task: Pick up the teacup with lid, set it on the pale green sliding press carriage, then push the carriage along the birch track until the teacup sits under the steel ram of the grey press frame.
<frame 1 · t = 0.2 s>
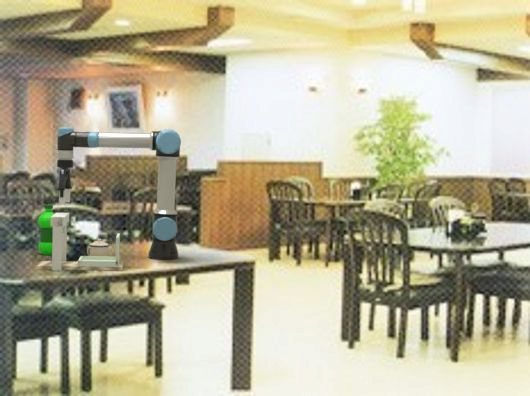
hand: (64, 203, 455), 27 cm above the table, tool pointing down, fingers open, 13 cm apart
plastic bottle: (47, 254, 476), on the table
press track: (81, 267, 434), on the table
press carriage: (99, 249, 435), point 8 cm above the table, slide at 0.0 cm
teacup with lid: (96, 263, 451), on the table
press frame: (59, 266, 433), on the table
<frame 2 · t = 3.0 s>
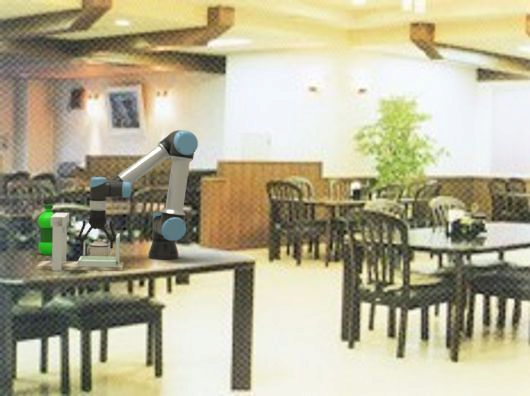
hand: (96, 255, 451), 4 cm above the table, tool pointing down, fingers open, 11 cm apart
teacup with lid: (96, 263, 451), on the table, touching gripper
everything else where it was.
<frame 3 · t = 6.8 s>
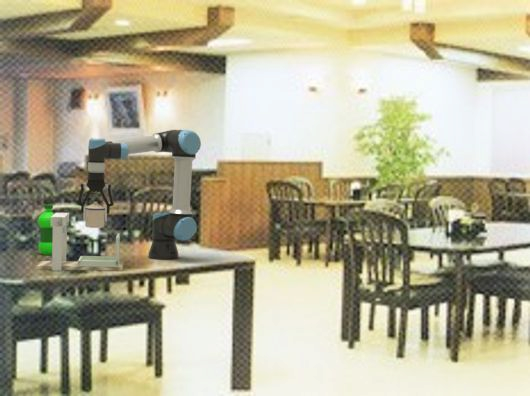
hand: (95, 220, 434), 22 cm above the table, tool pointing down, fingers closed on teacup with lid, 9 cm apart
teacup with lid: (92, 227, 434), point 19 cm above the table, touching gripper
everything else where it was.
when the fingers open (6 cm above the table, at t = 10.2 s): teacup with lid drops 1 cm, resting on press carriage.
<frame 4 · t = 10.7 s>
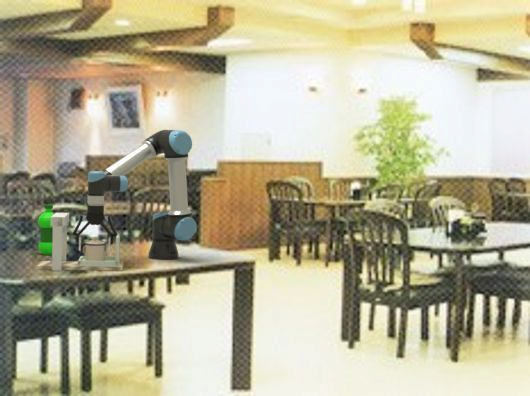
hand: (94, 250, 435), 8 cm above the table, tool pointing down, fingers open, 13 cm apart
press carriage: (99, 249, 435), point 8 cm above the table, slide at 0.0 cm, touching gripper, teacup with lid
teacup with lid: (92, 262, 435), point 2 cm above the table, touching press carriage
everything else where it was.
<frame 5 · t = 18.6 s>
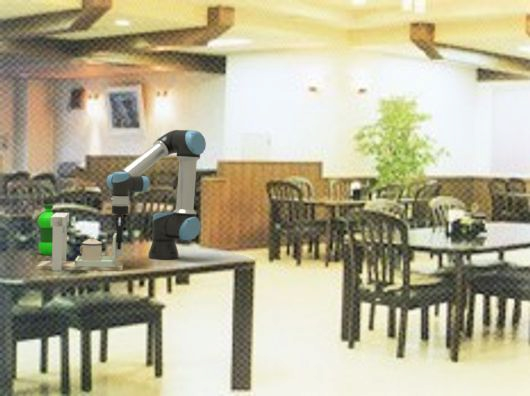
hand: (119, 256, 436), 6 cm above the table, tool pointing down, fingers closed
press carriage: (96, 249, 435), point 8 cm above the table, slide at 1.4 cm, touching gripper, teacup with lid
teacup with lid: (89, 262, 435), point 2 cm above the table, touching press carriage
everything else where it was.
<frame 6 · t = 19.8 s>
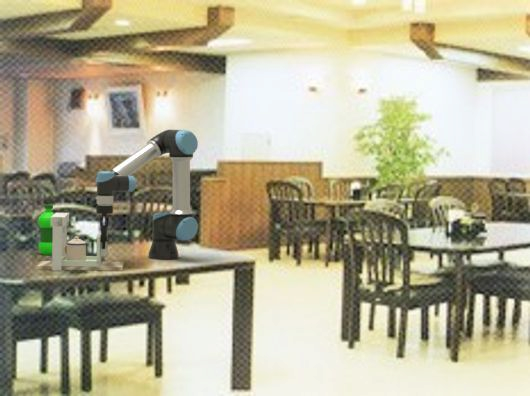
hand: (103, 255, 435), 6 cm above the table, tool pointing down, fingers closed
press carriage: (80, 249, 434), point 8 cm above the table, slide at 8.5 cm, touching gripper, teacup with lid
teacup with lid: (73, 261, 434), point 2 cm above the table, touching press carriage
everything else where it was.
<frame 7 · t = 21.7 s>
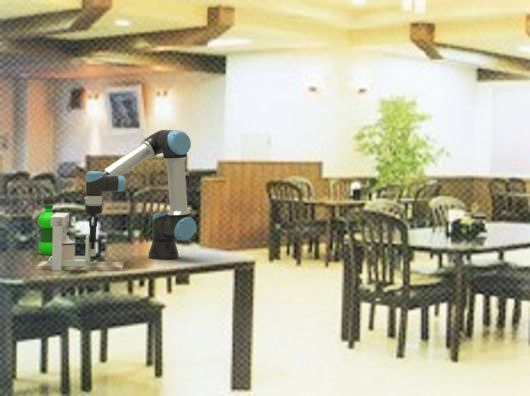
hand: (92, 255, 435), 5 cm above the table, tool pointing down, fingers closed
press carriage: (69, 249, 433), point 8 cm above the table, slide at 13.5 cm, touching teacup with lid
teacup with lid: (62, 261, 433), point 2 cm above the table, touching press carriage
everything else where it was.
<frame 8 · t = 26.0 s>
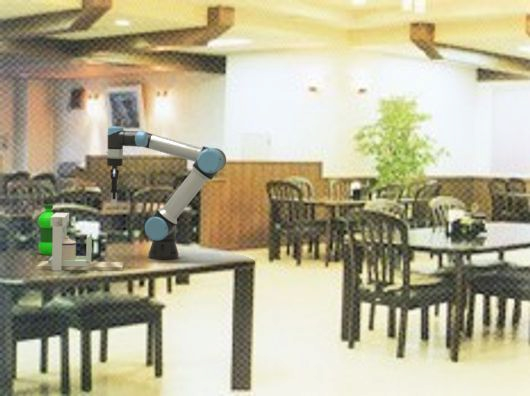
hand: (113, 205, 464), 26 cm above the table, tool pointing down, fingers closed
press carriage: (70, 249, 433), point 8 cm above the table, slide at 13.1 cm, touching teacup with lid
everything else where it was.
at the end: teacup with lid inside the target area (2.0 cm from its centre), point 2.4 cm above the table; press carriage slide at 13.1 cm; teacup with lid tilted 0° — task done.
